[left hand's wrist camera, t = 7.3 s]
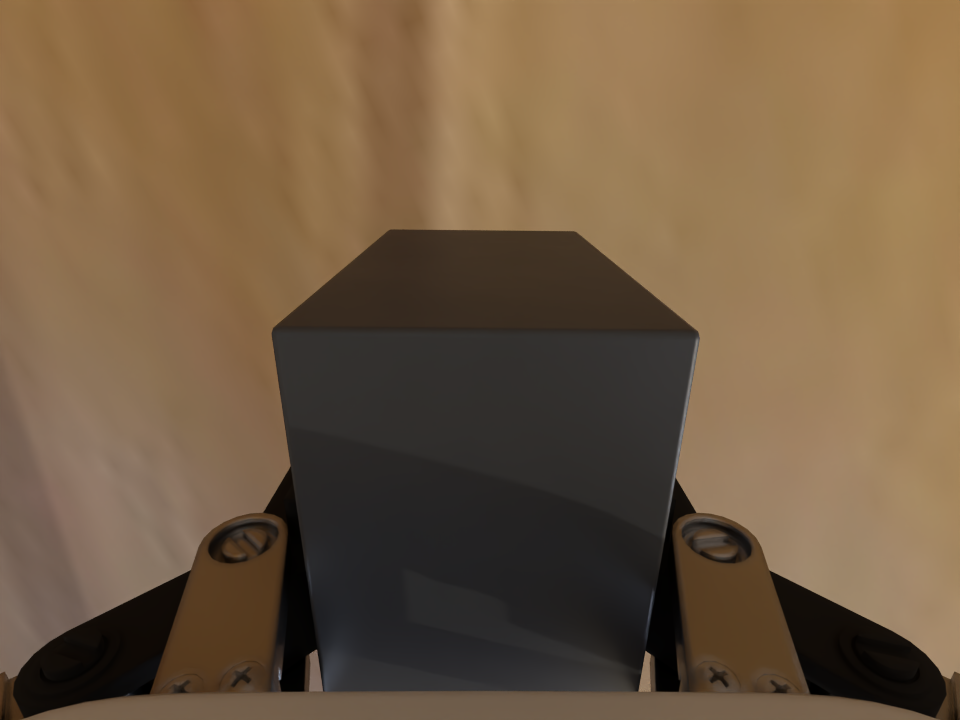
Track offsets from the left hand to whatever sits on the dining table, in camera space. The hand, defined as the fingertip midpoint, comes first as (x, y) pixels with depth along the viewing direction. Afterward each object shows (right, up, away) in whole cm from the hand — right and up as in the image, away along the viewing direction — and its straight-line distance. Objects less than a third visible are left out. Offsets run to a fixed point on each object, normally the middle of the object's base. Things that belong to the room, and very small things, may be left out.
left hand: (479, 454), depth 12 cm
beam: (0, -29, +14) cm, 32 cm away
